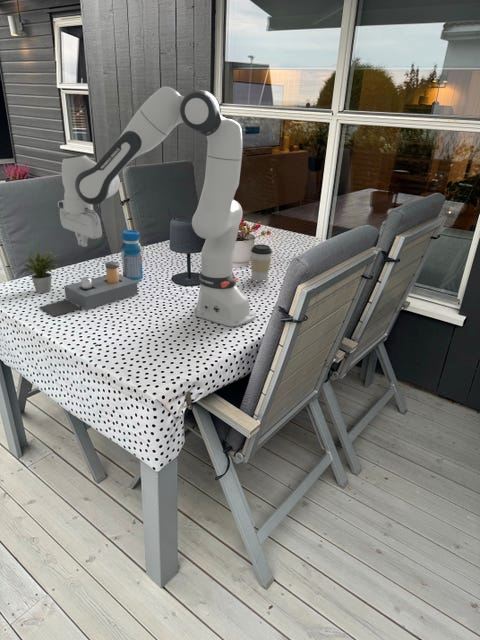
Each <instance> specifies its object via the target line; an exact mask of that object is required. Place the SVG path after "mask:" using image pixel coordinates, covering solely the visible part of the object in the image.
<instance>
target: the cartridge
mask: <svg viewBox="0 0 480 640" xmlns="http://www.w3.org/2000/svg"><path fill="white" fill-rule="evenodd" d="M104 266H105V273H106V275H107V283H109V284H115V283H119V275H120V274H119V262H118V261H107V262H104Z"/></svg>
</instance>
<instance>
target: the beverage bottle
mask: <svg viewBox="0 0 480 640" xmlns="http://www.w3.org/2000/svg"><path fill="white" fill-rule="evenodd" d="M121 233H122V234H121V235H122V236H121V237H122V240H123V243H122V245H121V247H120V248H121V249H120V250H121V254H120V257H121V260H122V261H121V262H122V263H121V264H122V276H124V277H126V278H129V279H131V280H133V281H135V282H137V283H138V282H140V281H142V280H143V278H144V275H143V252H142V250H143V247H142V245H141V243H140V242H139V241H140V238H141V237H140V232H139V231H138V230H136V229H127V230H123V231H122V232H121Z"/></svg>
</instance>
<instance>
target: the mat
mask: <svg viewBox="0 0 480 640" xmlns="http://www.w3.org/2000/svg"><path fill="white" fill-rule="evenodd" d="M39 309H40V310H41V311H43V312H45V313H47V314H49V315H50V316H52V317H53V318H56V317H59V316H62V315H66V314H69V313H72V312H73V313H74V312H76V311H80V310H82V307H80V306H78V305H77V304H75V303H73V302H71V301H69V300H68V299H63V300H60V301H59V300H58V301H56V302H52V303H49V304H45V305H41V306H39Z"/></svg>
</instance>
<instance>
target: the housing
mask: <svg viewBox="0 0 480 640" xmlns="http://www.w3.org/2000/svg"><path fill="white" fill-rule="evenodd" d="M138 290H139V289H138V281H137V282H135V281H133V280H131V279H129V278H126V277H124V276H123V274H122V275H121V274H119V283H115V284H109V283H107V275H102V276H98V277H94V278H92V289H91V290H88V291H84V290H82V284H81V281H79V282H74V283H70V284H66V285H64V295H65V300H68V301H70V302H71V303H73V304H75V305H77V306H79V307H80V308H81V309H84V310H86V311H88V310H89V311H90V310H92V309H95V308H98V307H101V306H105V305H108V304H112V303H114V302H117V301H121V300H124V299H127V298H130V297H134V296H137V295H139V291H138Z"/></svg>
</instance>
